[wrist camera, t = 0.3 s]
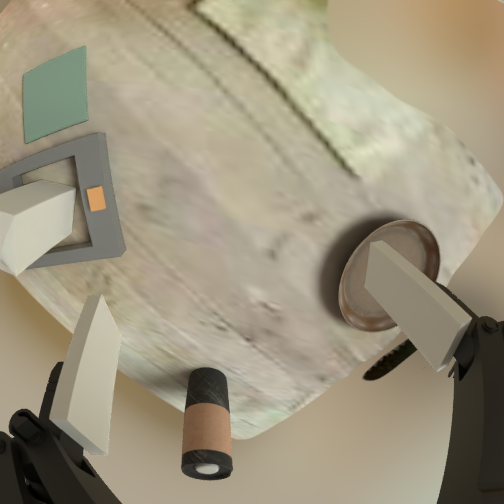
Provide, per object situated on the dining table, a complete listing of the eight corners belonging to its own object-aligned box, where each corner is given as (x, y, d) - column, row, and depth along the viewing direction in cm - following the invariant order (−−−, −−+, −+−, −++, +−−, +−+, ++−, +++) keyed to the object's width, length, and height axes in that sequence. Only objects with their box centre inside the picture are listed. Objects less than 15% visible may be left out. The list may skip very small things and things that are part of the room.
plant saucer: (446, 255, 44) (457, 262, 41) (380, 337, 50) (387, 347, 47) (386, 187, 38) (398, 192, 35) (306, 292, 44) (311, 303, 41)
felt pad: (25, 75, 25) (23, 74, 25) (86, 46, 26) (84, 45, 25) (27, 143, 30) (25, 143, 29) (88, 120, 30) (86, 120, 30)
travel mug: (179, 375, 48) (169, 468, 30) (212, 360, 47) (211, 459, 29) (204, 396, 51) (203, 483, 32) (236, 383, 50) (243, 474, 31)
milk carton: (42, 178, 32) (-47, 213, 15) (77, 187, 34) (-10, 228, 16) (38, 222, 35) (-40, 274, 17) (72, 233, 36) (-3, 294, 19)
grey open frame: (1, 171, 30) (-24, 178, 24) (105, 132, 32) (83, 132, 25) (23, 264, 37) (3, 282, 31) (126, 249, 38) (110, 269, 32)
